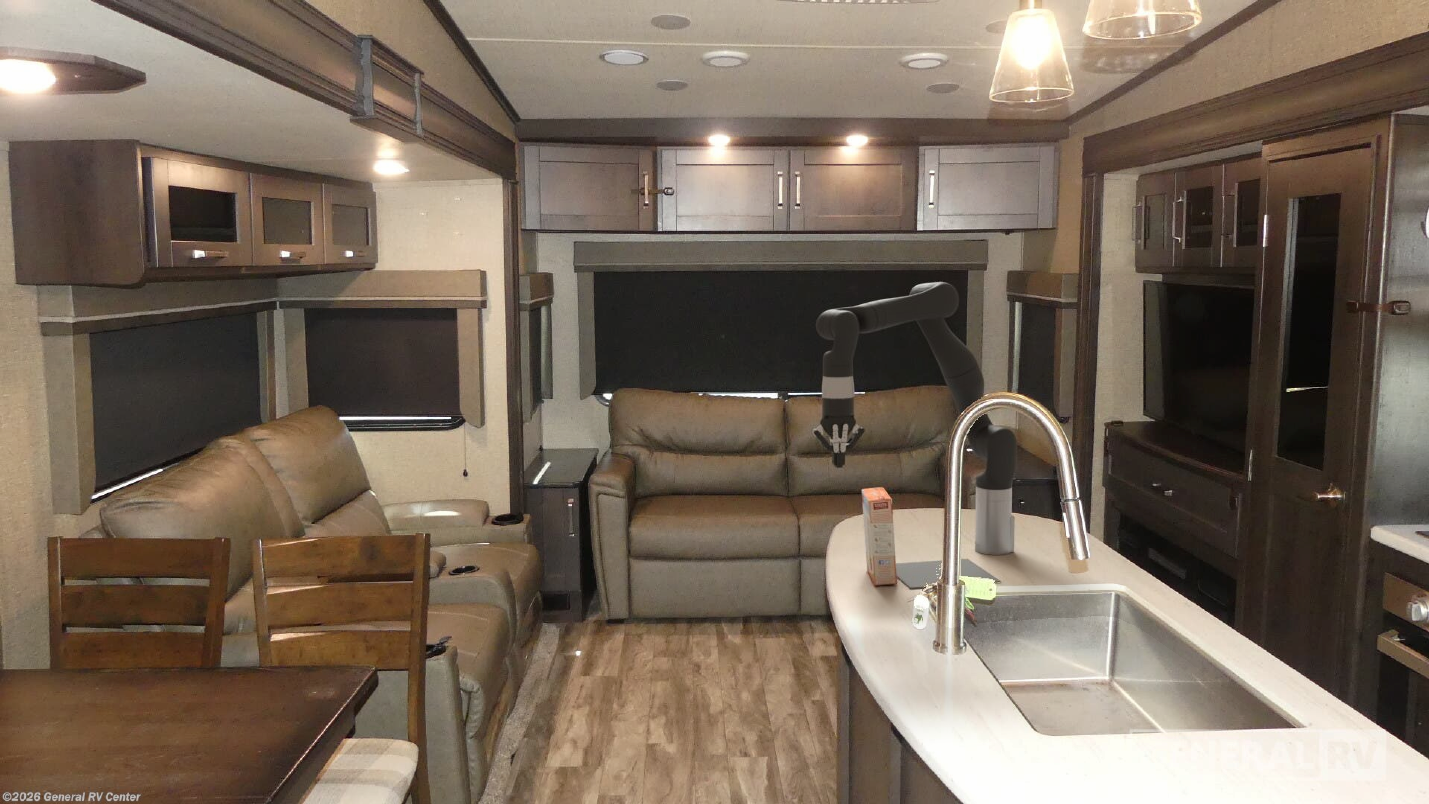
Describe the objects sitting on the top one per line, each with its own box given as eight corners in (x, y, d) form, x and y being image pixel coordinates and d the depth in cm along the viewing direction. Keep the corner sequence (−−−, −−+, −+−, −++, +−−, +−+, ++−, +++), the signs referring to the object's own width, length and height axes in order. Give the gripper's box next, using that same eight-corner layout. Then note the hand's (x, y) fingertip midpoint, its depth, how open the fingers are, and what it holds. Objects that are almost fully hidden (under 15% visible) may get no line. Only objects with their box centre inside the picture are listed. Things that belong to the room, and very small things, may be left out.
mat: (967, 560, 273) (967, 558, 273) (1000, 582, 253) (1001, 581, 253) (883, 565, 269) (883, 564, 269) (910, 589, 249) (910, 587, 249)
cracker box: (899, 584, 252) (892, 498, 249) (873, 586, 252) (866, 500, 249) (890, 567, 265) (884, 485, 263) (866, 569, 266) (860, 488, 263)
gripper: (860, 392, 256) (860, 463, 258) (806, 394, 254) (807, 465, 256) (869, 395, 249) (870, 468, 251) (814, 398, 246) (815, 471, 249)
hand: (838, 467), depth 253 cm, fingers closed
